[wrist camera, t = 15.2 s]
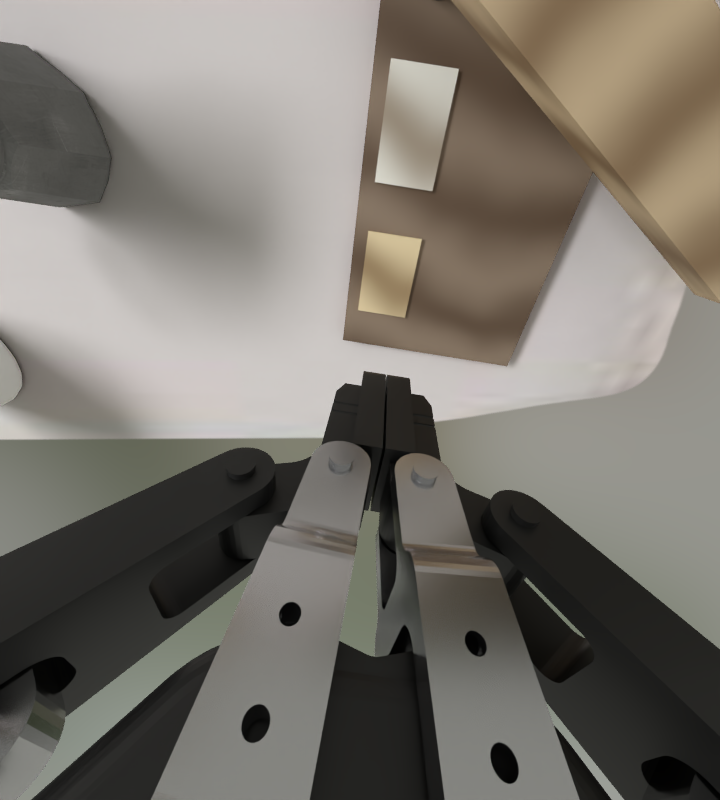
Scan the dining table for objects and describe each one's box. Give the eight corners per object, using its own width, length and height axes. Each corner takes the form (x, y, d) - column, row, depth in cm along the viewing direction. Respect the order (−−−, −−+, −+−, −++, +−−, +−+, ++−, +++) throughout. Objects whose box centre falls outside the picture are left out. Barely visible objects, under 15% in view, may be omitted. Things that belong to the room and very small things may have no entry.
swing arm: (379, -87, 13) (377, -128, 11) (475, -300, 10) (490, -393, 9) (694, 294, 19) (722, 304, 18) (797, 219, 17) (841, 222, 15)
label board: (393, -101, 16) (393, -233, 11) (681, -55, 16) (812, -165, 11) (344, 334, 30) (334, 365, 25) (503, 360, 30) (526, 395, 25)
